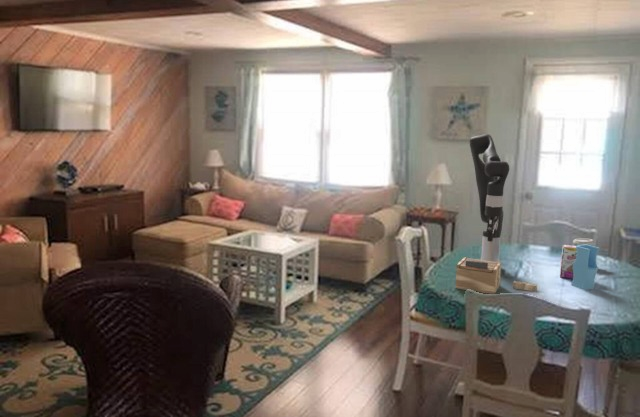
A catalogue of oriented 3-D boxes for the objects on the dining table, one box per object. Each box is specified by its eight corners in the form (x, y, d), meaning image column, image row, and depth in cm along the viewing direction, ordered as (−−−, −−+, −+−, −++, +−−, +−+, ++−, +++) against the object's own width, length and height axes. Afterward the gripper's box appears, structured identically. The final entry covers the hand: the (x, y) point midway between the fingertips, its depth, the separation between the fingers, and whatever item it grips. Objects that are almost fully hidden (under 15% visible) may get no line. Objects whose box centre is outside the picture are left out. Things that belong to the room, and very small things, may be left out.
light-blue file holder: (585, 290, 262) (589, 249, 258) (570, 285, 269) (574, 245, 265) (595, 287, 265) (599, 247, 262) (581, 283, 272) (585, 244, 269)
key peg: (536, 290, 262) (513, 286, 266) (537, 284, 261) (514, 281, 266) (536, 292, 259) (512, 288, 264) (536, 285, 259) (513, 282, 263)
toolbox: (463, 279, 276) (464, 257, 274) (499, 285, 268) (501, 262, 266) (455, 288, 263) (456, 264, 261) (494, 294, 255) (495, 269, 252)
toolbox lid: (467, 260, 273) (467, 253, 273) (498, 264, 267) (498, 257, 266) (459, 267, 260) (460, 260, 260) (491, 272, 253) (492, 264, 253)
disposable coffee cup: (570, 266, 300) (573, 240, 298) (570, 262, 310) (572, 236, 307) (592, 269, 296) (595, 242, 294) (590, 264, 306) (593, 238, 303)
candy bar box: (560, 277, 281) (563, 246, 278) (559, 275, 285) (562, 244, 282) (584, 280, 277) (587, 248, 274) (583, 277, 282) (586, 246, 279)
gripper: (488, 202, 258) (486, 235, 261) (482, 206, 246) (480, 241, 248) (505, 203, 255) (502, 237, 258) (500, 207, 242) (497, 243, 245)
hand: (491, 239), depth 253 cm, fingers open, 8 cm apart
